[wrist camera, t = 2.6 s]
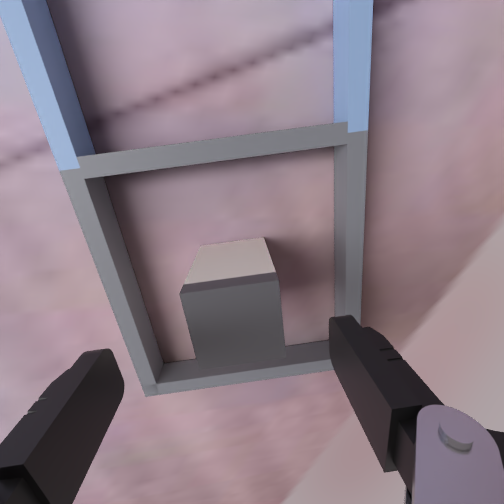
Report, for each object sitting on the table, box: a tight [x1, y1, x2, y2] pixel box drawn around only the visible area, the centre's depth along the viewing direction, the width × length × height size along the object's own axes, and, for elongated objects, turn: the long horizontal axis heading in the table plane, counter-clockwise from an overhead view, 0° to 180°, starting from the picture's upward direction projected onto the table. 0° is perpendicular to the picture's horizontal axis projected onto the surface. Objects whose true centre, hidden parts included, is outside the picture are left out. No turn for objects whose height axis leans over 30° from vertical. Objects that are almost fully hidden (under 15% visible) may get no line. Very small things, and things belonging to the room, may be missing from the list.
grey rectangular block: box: [180, 237, 286, 370], centre depth 13 cm, size 4×4×6 cm
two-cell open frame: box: [0, 0, 373, 397], centre depth 13 cm, size 15×30×2 cm, turn 7°
